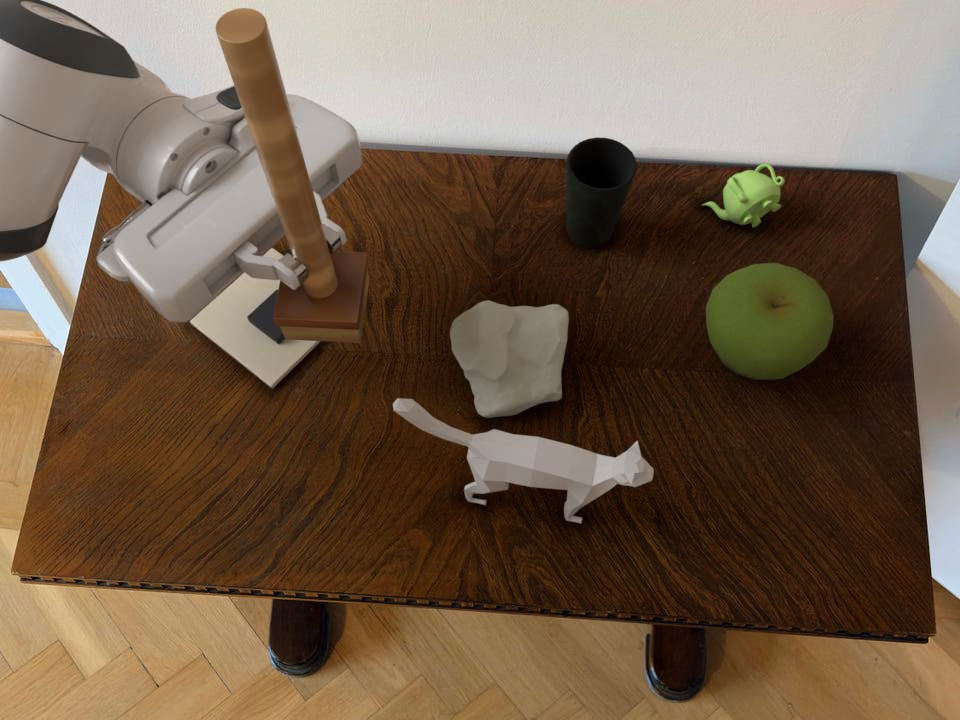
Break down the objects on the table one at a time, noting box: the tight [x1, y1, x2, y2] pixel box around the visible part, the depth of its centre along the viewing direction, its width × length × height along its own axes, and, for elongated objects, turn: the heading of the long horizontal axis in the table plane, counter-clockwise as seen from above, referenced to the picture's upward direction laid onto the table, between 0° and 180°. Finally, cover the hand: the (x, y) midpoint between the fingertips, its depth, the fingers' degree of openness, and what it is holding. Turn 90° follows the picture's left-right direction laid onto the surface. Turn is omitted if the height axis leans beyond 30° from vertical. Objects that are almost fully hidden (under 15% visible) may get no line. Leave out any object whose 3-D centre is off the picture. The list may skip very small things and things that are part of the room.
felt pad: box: [247, 290, 285, 344], centre depth 80 cm, size 4×4×1 cm
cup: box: [566, 136, 638, 249], centre depth 82 cm, size 6×6×10 cm
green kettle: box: [701, 163, 786, 228], centre depth 84 cm, size 6×5×6 cm
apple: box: [705, 262, 834, 381], centre depth 75 cm, size 11×10×10 cm
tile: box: [189, 247, 322, 389], centre depth 81 cm, size 11×11×1 cm
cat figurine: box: [392, 397, 655, 524], centre depth 67 cm, size 4×20×14 cm, turn 78°
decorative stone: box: [449, 300, 570, 419], centre depth 76 cm, size 11×9×10 cm
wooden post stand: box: [215, 7, 370, 344], centre depth 56 cm, size 6×6×28 cm
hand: (320, 260), depth 61 cm, fingers closed on wooden post stand, 2 cm apart
